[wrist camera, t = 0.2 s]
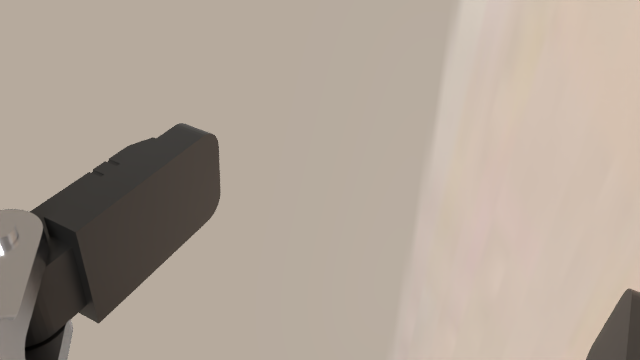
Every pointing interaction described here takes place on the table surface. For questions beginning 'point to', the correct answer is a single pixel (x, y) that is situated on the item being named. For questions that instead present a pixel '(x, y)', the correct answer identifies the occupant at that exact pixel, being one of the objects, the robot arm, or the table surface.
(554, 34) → the table surface
